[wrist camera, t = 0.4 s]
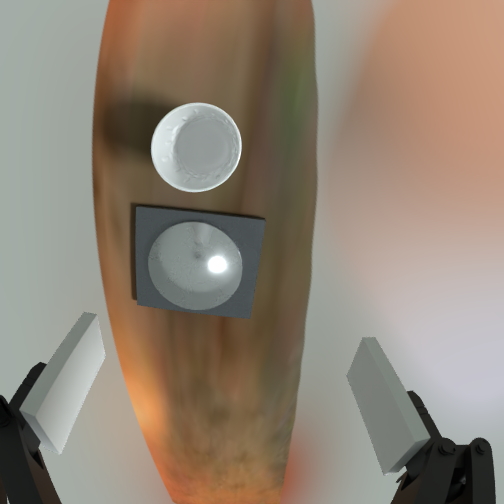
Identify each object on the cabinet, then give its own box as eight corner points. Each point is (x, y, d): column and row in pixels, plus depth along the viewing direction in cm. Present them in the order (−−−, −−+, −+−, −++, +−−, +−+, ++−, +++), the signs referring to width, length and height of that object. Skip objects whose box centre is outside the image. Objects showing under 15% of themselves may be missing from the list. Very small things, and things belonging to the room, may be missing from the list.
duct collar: (138, 204, 35) (133, 208, 33) (265, 218, 37) (266, 222, 35) (139, 301, 40) (135, 307, 38) (249, 314, 41) (250, 321, 40)
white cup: (166, 126, 32) (139, 121, 23) (229, 105, 31) (226, 90, 22) (186, 186, 35) (167, 203, 25) (248, 167, 34) (252, 176, 25)
